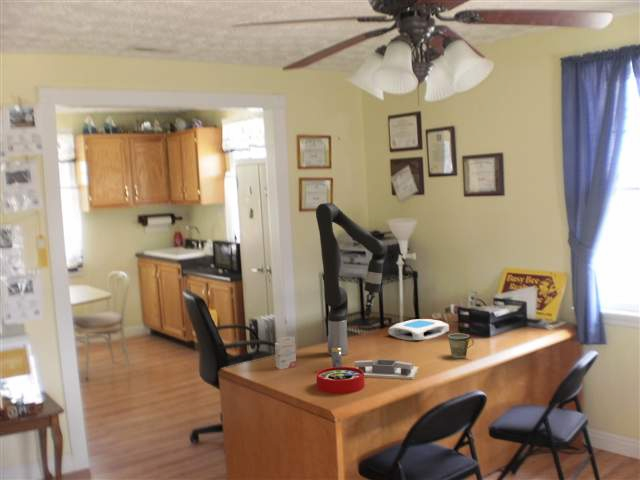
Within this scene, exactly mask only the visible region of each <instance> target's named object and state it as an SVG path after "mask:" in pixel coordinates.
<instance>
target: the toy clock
mask: <svg viewBox="0 0 640 480" xmlns="http://www.w3.org/2000/svg"><path fill="white" fill-rule="evenodd" d="M315 376H316V389H317V390H318V391H319V392H322V393H325V394H332V395H348V394H354V393H357V392H360V391H363V390H364V388H365V386H366V385H365V377H364V372H363V371H362V370H360V369H358V368H357V367H351V366H342V367H332V366H331V367H328V368H327V367H326V368H323V369H320V370H318V371H317V372H316V374H315Z"/></svg>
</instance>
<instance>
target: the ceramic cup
mask: <svg viewBox="0 0 640 480" xmlns="http://www.w3.org/2000/svg"><path fill="white" fill-rule="evenodd" d="M447 338H448V344H449V350H450V353H451V357H452V358H456V359H463V358H466V357H467V353H468V349H469V348H470V347H471V346H473V344H474V340H473V339H472V338H470V335H469V334H466V333H450V334H448V336H447ZM469 341H471V344H470V345H469Z"/></svg>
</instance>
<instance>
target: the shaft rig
mask: <svg viewBox="0 0 640 480" xmlns="http://www.w3.org/2000/svg"><path fill="white" fill-rule="evenodd" d="M354 368H358V369H360V370H362V371H363V372H364V378H382V379H397V380H398V379H400V380H414V378H415V376H416V374H417V372H418V371H419V366H414V364H413V363H411V362H404V361H399V360H396V359H380V358H379V359H377V358H376V360H375V361H374V360H372V359H370V360H355V361H354Z"/></svg>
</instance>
